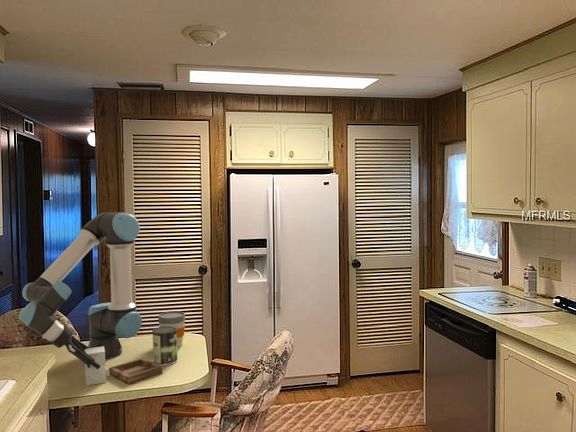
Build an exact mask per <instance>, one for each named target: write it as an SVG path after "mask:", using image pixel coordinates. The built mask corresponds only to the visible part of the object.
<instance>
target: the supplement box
mask: <svg viewBox="0 0 576 432" xmlns="http://www.w3.org/2000/svg"><path fill="white" fill-rule="evenodd" d="M85 352H86V353H87V354H88V355H89V356H91V357H92V358H93V359H94V360H97V361H98V362H100V363H101V364H102V365H104V366H105V367H106V364H105V361H106V359H105V349H104V346H102V347H95V348H87V349H85ZM84 373H85V374H84V375H85V376H84V377H85V384H86V386H87V387H88V386H93V385H98V384H106V383H107V372H106V373H105V374H104V375H103V374H101V373H100V372H98V371H97V370H96V369H94V368H93V367H91V366H89V367H87V365H86V364H85V363H84Z"/></svg>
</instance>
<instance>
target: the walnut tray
mask: <svg viewBox="0 0 576 432" xmlns="http://www.w3.org/2000/svg"><path fill="white" fill-rule="evenodd" d="M108 370H109V371H108V372H109V374H108V375H109V376H111V377H113V378H114V379H116V380H118V381H120V382H122V383H124V384H126V385H128V386H130V385H134V384H136V383H140V382H142V381H145V380H147V379H150V378H154V377H155V376H156V377H157V376H159V375H162V374H163V366H160V365H158V364H156V363H154V361H151V360H149V359H146V358H144V357H140V358H136V359H134V360H130V361H127V362H124V363H120V364H117V365H113V366H111V367H109V368H108Z"/></svg>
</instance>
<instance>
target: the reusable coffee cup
mask: <svg viewBox="0 0 576 432" xmlns="http://www.w3.org/2000/svg"><path fill="white" fill-rule="evenodd" d="M157 319H158V320H157V321H158V322H157V323H158V324H159V325H158V326H159V327H165V326H170V327H175V328H177V349H178V348H181V347H182V346H183V341H184V336H185V330H186V329H185V328H186V324H185V321H186V315H185V312H183V311H179V310H172V311H163V312H162V313H159V315H158V318H157Z"/></svg>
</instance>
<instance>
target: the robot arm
mask: <svg viewBox="0 0 576 432" xmlns="http://www.w3.org/2000/svg"><path fill="white" fill-rule="evenodd" d="M140 228H141V227H140V224H139V221H138V219H137V218H136V217H135V216H134V215H133V214H131V213H127V212H123V211H122V212H112V211H111V212H110V211H105V212H102V213H99V214H97V215H96V216H94V217H93V218H91V220H89V221H88V222H87V223H86V224H85V225H84V226H83V227H82V228H81V230H80V231H79V235H78V236H77V237H76V238H75V239H74V240H73V241H72V242H71V243H70V244H69V246H68V247H66V249H64V251H63V252H62V253H61V254H60V255H59V256H58V257H57V258H56V259H55V260H54V262H52V263H51V264H50V265H49V266H48V268H47V269H46V270H44V272H43V273H42V274H41V275H40V276H39V277H38V278H37V279H36V280H35V281H34V282H29V283H27V284H25V285H24V287H23V289H22V290H21V291H22V292H21V294H22V297H23V298H24V300H26V301H27V302H29V303H28V304H27V305H26V306H25V307H23V309H22V310H21V311H20V312H19V313H18V316H17V318H18V320H19V321H20V322H22V323H23V324H24V325H25V326H27V328H30V329H31V330H33V331H34V332H35V333H37V334H38V335H40V336H41V337H42V339H43V340H45V339H46V340H47V341H48V342H51V344H52V345H53V346H55V347H56V348H58V349H59V348H62V347H63V346H65V347H66V350H67V352H68V353H70V354H71V355H73V356H75V357H76V358H77V359H79V360H80V361H81V362H82V363H84V365H85V364H86V365H87V367H89V366H91V367H93V368H94V369H96V370H97V371H98V372H100V373H101V374H103V375H104V374H105V373H106V374H107V372H108V370H109V368H108V367H106V364H107V361H106V360H109V359H113V358H116V357H118V356H120V355H121V354H122V352H123V347H122V344H121V341H120V339H130V338H133V337H134V336H135V335H137V334H138V331H140V329H141V328H142V316H141V315H140V314H139V312H137V305H136V303H134V302H133V289H132V288H133V287H132V286H133V285H132V283H133V282H132V281H133V280H132V249H131V248H132V246H134V244H135V240H136V238H137V237H138V235H139V234H140ZM104 240H105V245H106V246H107V247H108V248H109V263H110V269H109V270H110V299H111V300H110V301H111V302H102V303H98V304H95V305H91V306H90V307H89V308H88V315H87V316H88V324H89V326H88V327H89V329H88V330H89V341H88V345H86V344H84V342H83V343H82V341H80V340H78V339H77V338H76V337H75V336H73V334H74V333H73V331H72V330H71V329H70V328H68V327H67V326H65V325H64V324H63V323H62V322H61V321H59V320H58V319H56V318H55V317H53V316H54V315H55V313H56V312H57V311H58V310H59V309H60V308H61V306H62V305H63V304H64V303H65V302H66V301H67V300H68V298H69V297H70V295H71V294H72V289H71V288H70V287H69V285H67V283H64V282H62V281H63V280H64V279H65V278H66V277H67V276H68V275H69V274H70V273H71V271H72V270H73V269H75V267H76V266H77V265H78V264H79V263H80V262H81V260H82V259H83V258H85V256H87V254H88V253H89V252H90V251H91V250H92V249H93V247H94V246H98V245H99V244H100V243H101V242H102V241H104ZM119 338H120V339H119ZM102 346H104V349H105V366H104V365H102V364H101V363H100V362H98V361H97V360H94V359H93V358H92V357H91V356H89V355H88V354H87V353H86V352H85V349H87V348H95V347H102Z"/></svg>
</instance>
